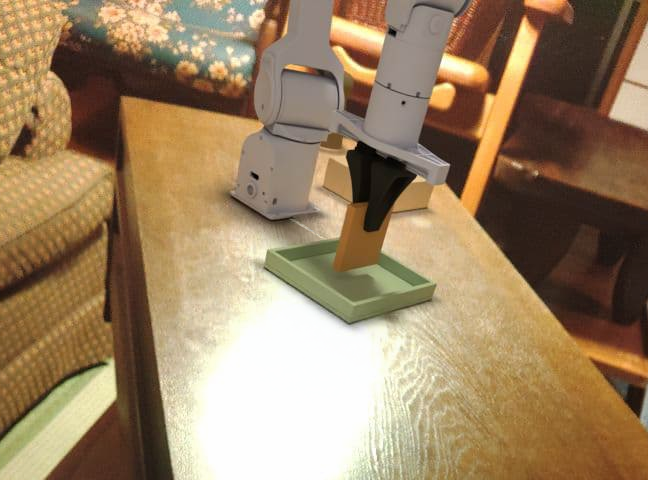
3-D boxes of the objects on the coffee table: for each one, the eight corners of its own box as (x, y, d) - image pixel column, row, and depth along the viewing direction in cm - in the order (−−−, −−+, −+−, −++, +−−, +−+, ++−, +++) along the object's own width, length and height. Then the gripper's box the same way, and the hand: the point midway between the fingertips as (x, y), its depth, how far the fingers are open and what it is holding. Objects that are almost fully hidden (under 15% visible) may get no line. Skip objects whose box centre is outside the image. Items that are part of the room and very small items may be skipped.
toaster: (372, 219, 103) (381, 185, 100) (321, 189, 106) (328, 156, 104) (429, 210, 112) (439, 179, 109) (380, 183, 116) (388, 152, 113)
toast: (339, 272, 81) (355, 208, 77) (332, 268, 82) (347, 204, 77) (377, 264, 86) (395, 203, 81) (370, 260, 86) (387, 198, 82)
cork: (337, 155, 121) (354, 79, 113) (302, 143, 121) (317, 66, 113) (344, 147, 125) (361, 73, 118) (310, 135, 125) (325, 61, 118)
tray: (349, 323, 78) (354, 305, 76) (263, 266, 83) (266, 249, 81) (431, 299, 88) (437, 283, 86) (351, 250, 93) (355, 234, 91)
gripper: (483, 115, 72) (437, 251, 81) (373, 63, 77) (341, 196, 86) (442, 116, 67) (398, 260, 76) (328, 60, 73) (299, 201, 81)
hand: (365, 226), depth 81 cm, fingers closed on toast, 1 cm apart
